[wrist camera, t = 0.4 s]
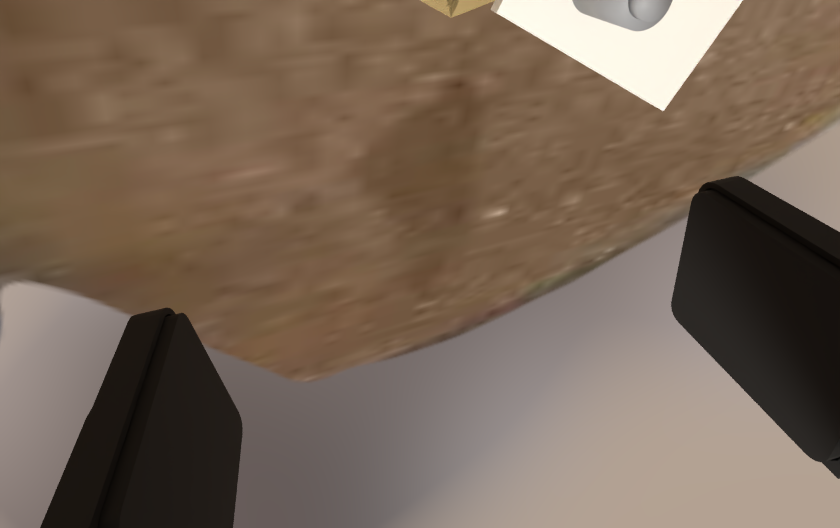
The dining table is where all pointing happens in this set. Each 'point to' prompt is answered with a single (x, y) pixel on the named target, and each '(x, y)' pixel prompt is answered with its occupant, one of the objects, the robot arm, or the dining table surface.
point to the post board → (627, 37)
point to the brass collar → (455, 5)
